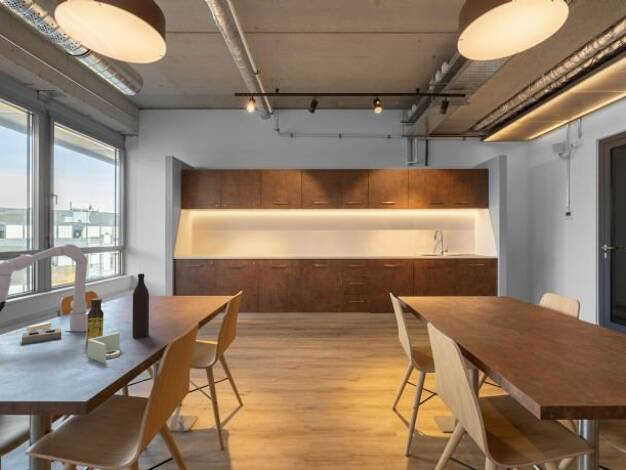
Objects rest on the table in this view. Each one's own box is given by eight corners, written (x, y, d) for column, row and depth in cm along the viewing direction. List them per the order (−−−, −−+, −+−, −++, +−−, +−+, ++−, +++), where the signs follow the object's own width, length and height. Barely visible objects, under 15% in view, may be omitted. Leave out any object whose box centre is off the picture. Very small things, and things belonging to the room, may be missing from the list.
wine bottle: (151, 336, 163) (151, 273, 164) (135, 339, 158) (136, 274, 158) (145, 333, 168) (145, 272, 168) (130, 336, 163) (130, 273, 163)
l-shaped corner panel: (103, 364, 129) (103, 344, 129) (87, 358, 135) (87, 339, 135) (134, 355, 139) (134, 336, 139) (118, 349, 146) (118, 332, 146)
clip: (47, 331, 171) (47, 322, 171) (51, 331, 170) (51, 322, 170) (26, 336, 162) (26, 326, 162) (30, 336, 161) (30, 327, 161)
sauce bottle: (85, 346, 148) (85, 300, 148) (86, 342, 153) (87, 298, 153) (102, 344, 151) (103, 299, 151) (103, 340, 156) (104, 297, 156)
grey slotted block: (60, 334, 165) (60, 328, 165) (61, 338, 159) (61, 332, 159) (22, 339, 156) (22, 333, 156) (21, 344, 150) (21, 337, 150)
